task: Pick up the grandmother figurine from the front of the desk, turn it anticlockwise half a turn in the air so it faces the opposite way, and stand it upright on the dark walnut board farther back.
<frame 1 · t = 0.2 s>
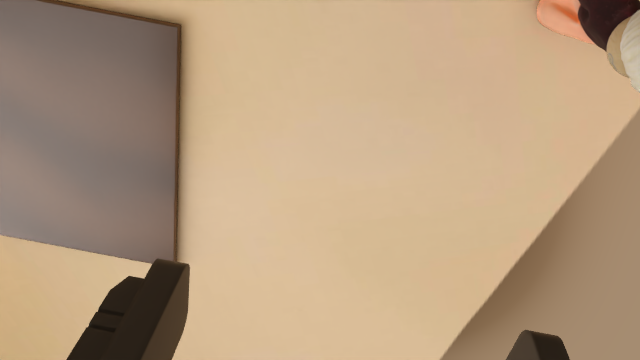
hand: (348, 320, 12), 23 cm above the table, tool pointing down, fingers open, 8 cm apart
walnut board: (70, 140, 37), on the table
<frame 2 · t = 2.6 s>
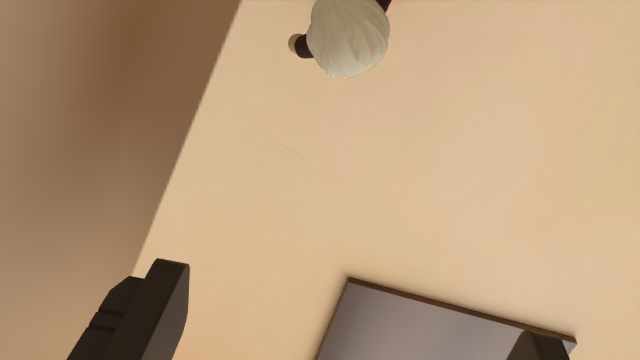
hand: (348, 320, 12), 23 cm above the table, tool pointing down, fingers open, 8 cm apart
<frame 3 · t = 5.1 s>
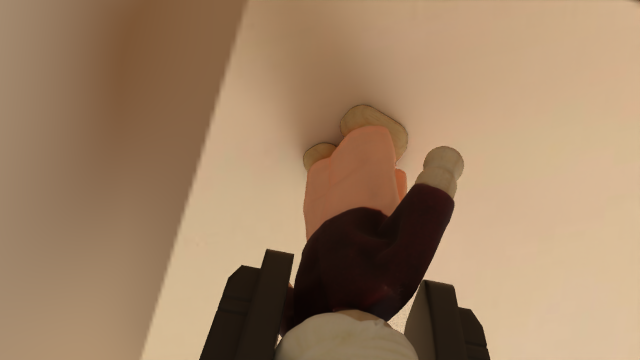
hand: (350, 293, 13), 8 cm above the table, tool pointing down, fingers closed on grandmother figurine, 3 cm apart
grandmother figurine: (362, 143, 20), on the table, touching gripper
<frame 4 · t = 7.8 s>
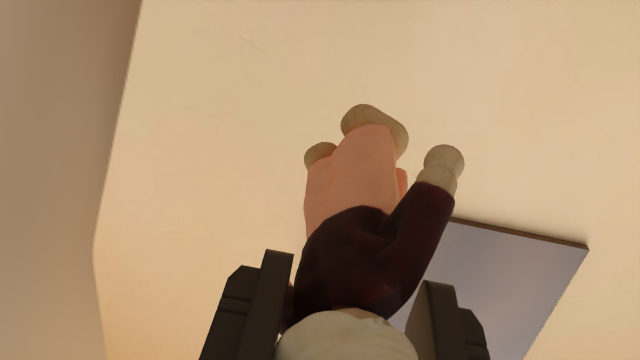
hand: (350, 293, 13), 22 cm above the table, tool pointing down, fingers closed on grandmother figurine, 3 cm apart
grandmother figurine: (363, 142, 20), point 14 cm above the table, touching gripper
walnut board: (427, 294, 43), on the table
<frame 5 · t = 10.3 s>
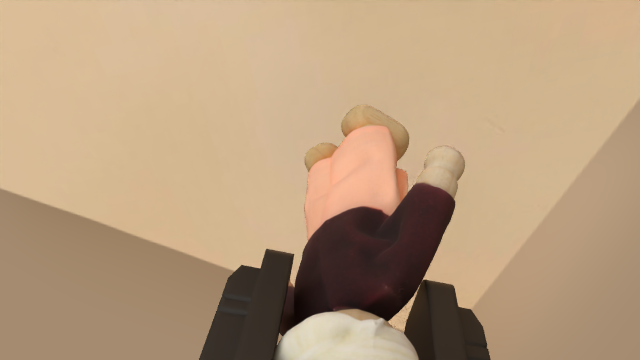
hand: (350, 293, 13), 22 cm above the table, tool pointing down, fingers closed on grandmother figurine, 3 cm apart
grandmother figurine: (363, 143, 20), point 14 cm above the table, touching gripper
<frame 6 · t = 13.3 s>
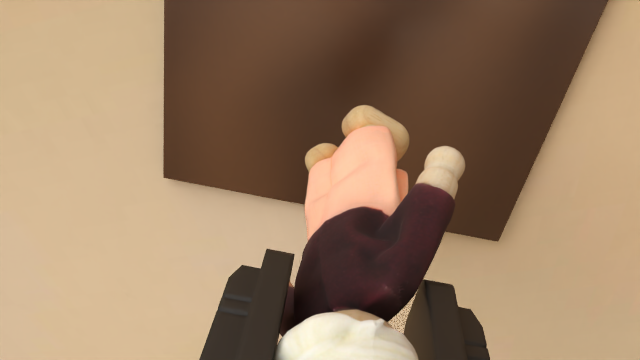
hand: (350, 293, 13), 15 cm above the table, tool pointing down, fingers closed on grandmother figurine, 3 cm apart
grandmother figurine: (364, 143, 20), point 7 cm above the table, touching gripper
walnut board: (360, 78, 26), on the table
when the fingers open (9 cm above the table, at t = 15.5 s): grandmother figurine stays where it is, resting on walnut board.
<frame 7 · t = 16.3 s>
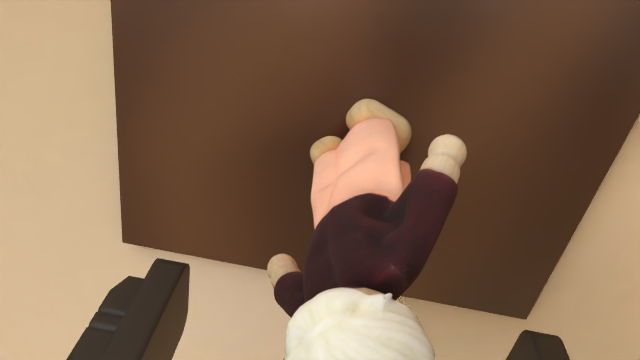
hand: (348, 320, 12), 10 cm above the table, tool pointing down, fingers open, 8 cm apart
grandmother figurine: (367, 136, 21), resting on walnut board
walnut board: (359, 130, 21), on the table
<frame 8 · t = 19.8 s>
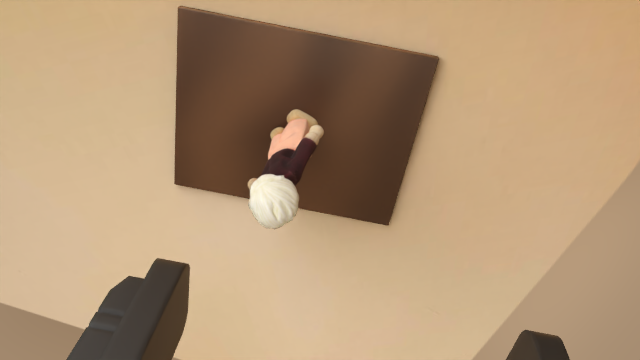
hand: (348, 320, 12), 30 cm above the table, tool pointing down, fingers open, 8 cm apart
grandmother figurine: (298, 127, 43), resting on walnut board
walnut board: (294, 124, 43), on the table
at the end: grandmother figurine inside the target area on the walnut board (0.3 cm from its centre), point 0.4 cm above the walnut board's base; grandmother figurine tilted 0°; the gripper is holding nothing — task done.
